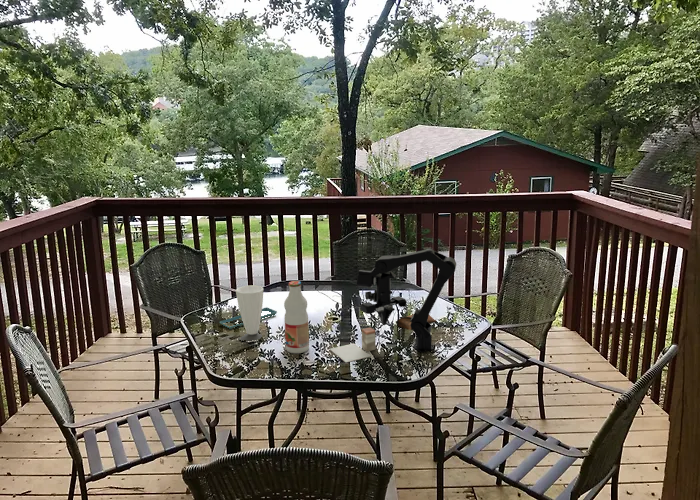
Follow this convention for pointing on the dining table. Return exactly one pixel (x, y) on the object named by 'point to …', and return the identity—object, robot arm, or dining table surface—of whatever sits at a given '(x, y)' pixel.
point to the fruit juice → (296, 320)
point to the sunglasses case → (406, 322)
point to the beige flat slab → (350, 352)
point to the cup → (250, 310)
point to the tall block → (368, 339)
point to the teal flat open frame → (241, 317)
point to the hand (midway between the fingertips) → (383, 324)
